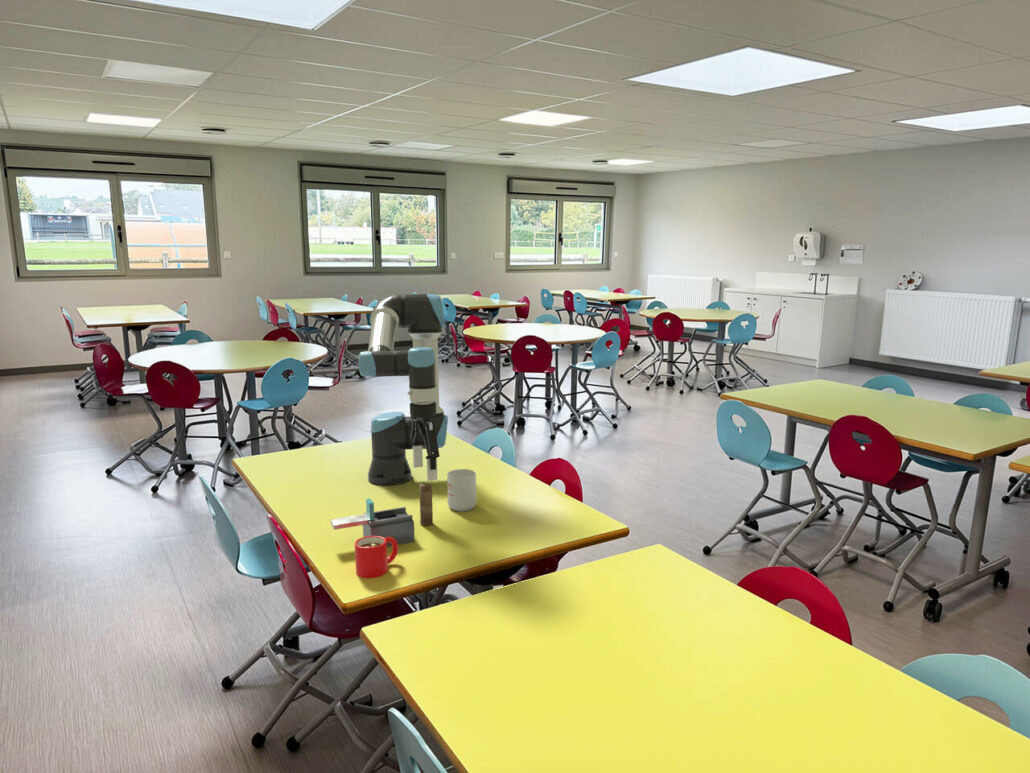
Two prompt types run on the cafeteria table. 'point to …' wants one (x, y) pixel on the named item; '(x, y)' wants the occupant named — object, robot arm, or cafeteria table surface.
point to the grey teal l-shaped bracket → (355, 518)
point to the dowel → (426, 504)
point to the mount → (391, 525)
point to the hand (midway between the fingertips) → (425, 473)
